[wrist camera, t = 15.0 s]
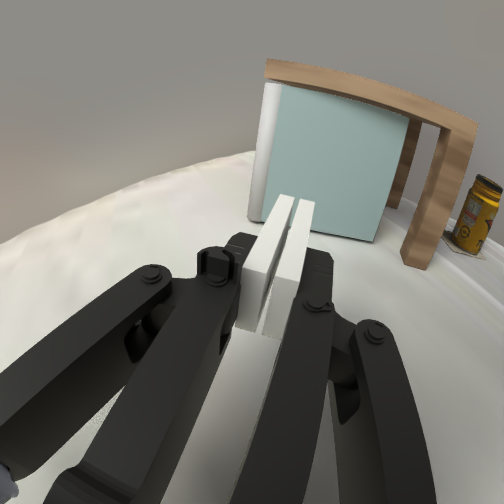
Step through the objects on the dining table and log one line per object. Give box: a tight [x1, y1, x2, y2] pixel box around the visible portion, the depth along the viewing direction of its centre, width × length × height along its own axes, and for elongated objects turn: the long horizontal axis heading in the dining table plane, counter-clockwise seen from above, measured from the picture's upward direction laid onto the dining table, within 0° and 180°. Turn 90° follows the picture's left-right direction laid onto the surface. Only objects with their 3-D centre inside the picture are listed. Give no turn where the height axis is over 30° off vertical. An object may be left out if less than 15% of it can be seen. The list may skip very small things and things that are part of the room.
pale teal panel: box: [247, 83, 409, 242], centre depth 28 cm, size 2×15×15 cm, turn 83°
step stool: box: [264, 59, 478, 270], centre depth 34 cm, size 22×22×18 cm
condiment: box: [441, 174, 503, 259], centre depth 34 cm, size 7×8×12 cm
